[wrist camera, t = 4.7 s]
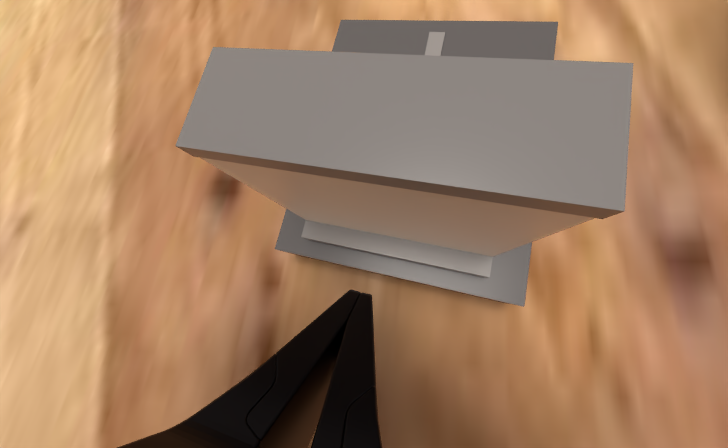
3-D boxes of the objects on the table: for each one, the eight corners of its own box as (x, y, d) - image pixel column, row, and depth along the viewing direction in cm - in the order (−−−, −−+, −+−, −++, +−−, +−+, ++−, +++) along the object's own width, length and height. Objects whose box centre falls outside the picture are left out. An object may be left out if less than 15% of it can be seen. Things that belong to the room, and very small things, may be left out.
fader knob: (486, 278, 14) (621, 263, 5) (305, 239, 16) (162, 179, 7) (500, 185, 15) (635, 23, 6) (327, 161, 17) (223, 19, 8)
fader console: (505, 302, 16) (525, 306, 13) (295, 254, 19) (273, 248, 16) (536, 61, 19) (559, 18, 16) (350, 54, 22) (340, 17, 19)
